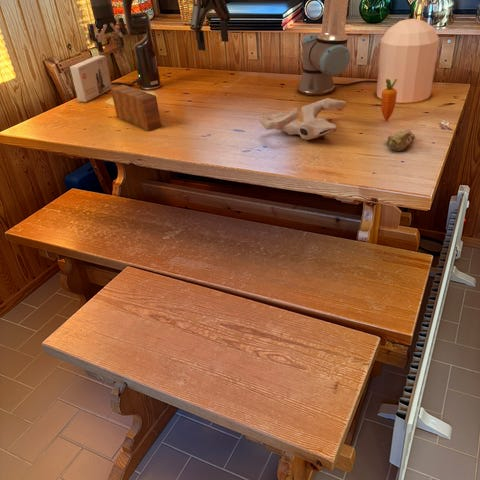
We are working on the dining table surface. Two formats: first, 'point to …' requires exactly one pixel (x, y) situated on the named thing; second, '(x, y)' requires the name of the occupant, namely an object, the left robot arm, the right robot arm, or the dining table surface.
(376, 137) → the dining table surface
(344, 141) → the dining table surface
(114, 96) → the box
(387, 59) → the container
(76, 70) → the skincare box
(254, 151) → the dining table surface
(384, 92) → the carrot
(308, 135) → the beige branched piece
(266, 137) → the dining table surface
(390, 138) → the rock
